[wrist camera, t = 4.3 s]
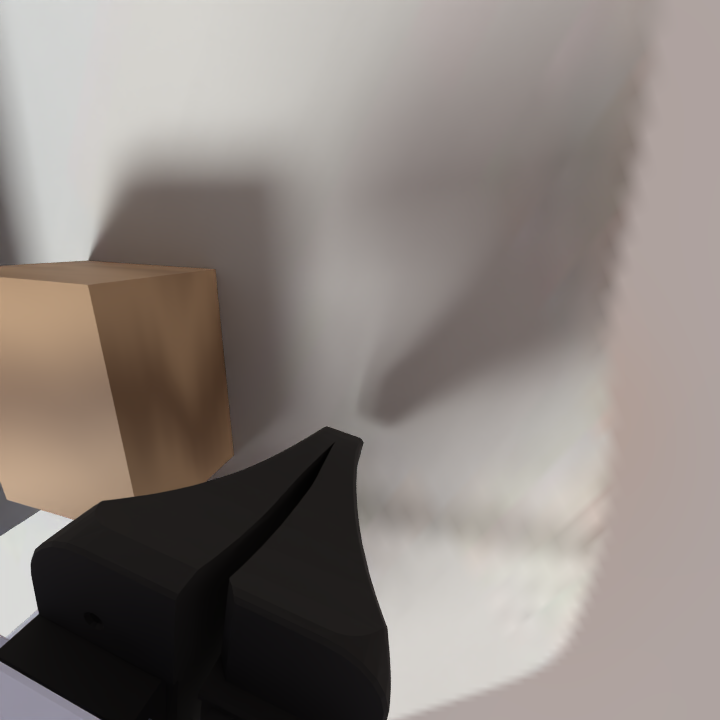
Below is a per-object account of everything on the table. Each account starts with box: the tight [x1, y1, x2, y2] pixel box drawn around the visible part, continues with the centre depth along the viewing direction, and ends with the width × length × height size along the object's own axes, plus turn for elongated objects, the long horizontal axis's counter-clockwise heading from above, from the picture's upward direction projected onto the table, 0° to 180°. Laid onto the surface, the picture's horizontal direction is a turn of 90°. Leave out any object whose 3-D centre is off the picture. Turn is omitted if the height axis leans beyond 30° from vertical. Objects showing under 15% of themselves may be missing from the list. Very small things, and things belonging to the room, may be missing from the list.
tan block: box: [0, 261, 234, 520], centre depth 13 cm, size 8×6×5 cm
